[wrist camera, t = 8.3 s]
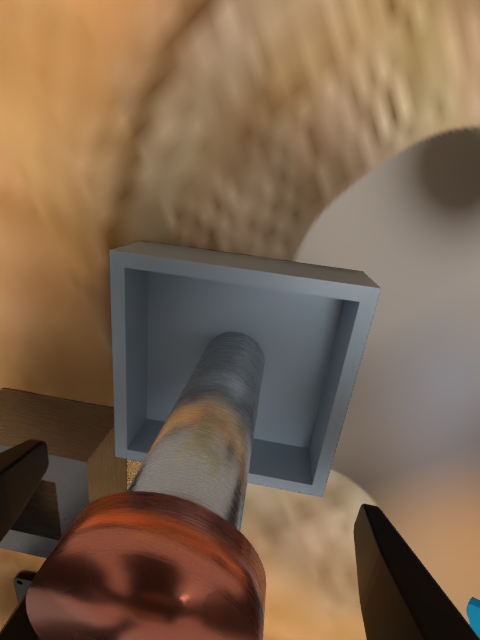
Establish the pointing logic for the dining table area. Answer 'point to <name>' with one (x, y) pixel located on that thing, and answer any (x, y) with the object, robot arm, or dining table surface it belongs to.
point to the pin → (169, 526)
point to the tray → (258, 323)
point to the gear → (474, 615)
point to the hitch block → (60, 463)
